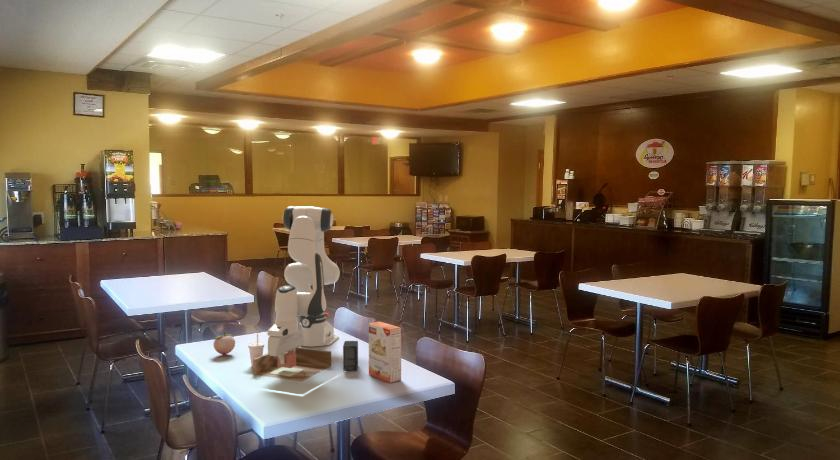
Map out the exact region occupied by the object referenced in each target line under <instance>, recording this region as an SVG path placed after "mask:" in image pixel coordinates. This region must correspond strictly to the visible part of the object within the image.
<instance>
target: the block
mask: <svg viewBox="0 0 840 460" xmlns="http://www.w3.org/2000/svg"><path fill="white" fill-rule="evenodd" d="M277 357H278V356H277ZM284 358H285V359H286V363H285V364H280V359H279V357H278V367H285V368H292V367H294V366H296V353H291V352H286V353H285V355H284Z"/></svg>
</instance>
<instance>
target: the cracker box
mask: <svg viewBox="0 0 840 460" xmlns="http://www.w3.org/2000/svg"><path fill="white" fill-rule="evenodd" d="M369 375H370V376H372V377H374V378H377V379H378V380H381V381H384V382H386V383H388V384H391V383H392V382H393V383H396V382H400V381H402V327H400V326H396V325H393V324H391V323H390V324H389V323H387V322H383V321H374V322H370V323H368V376H369Z"/></svg>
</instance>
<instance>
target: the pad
mask: <svg viewBox="0 0 840 460" xmlns="http://www.w3.org/2000/svg"><path fill="white" fill-rule="evenodd" d="M303 370H305V369H300V368H293V367H292V368H285V367H281V368H279V369H277V370H274V371H272V372H270V373H269V374H275V375H282V376H289V377H291V376H293V375H295V374H297V373H299V372H301V371H303Z"/></svg>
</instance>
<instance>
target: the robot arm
mask: <svg viewBox="0 0 840 460" xmlns="http://www.w3.org/2000/svg"><path fill="white" fill-rule="evenodd" d="M282 223H283V226H284V228H286V229H287V230H289V235H288V242H287V253H288V254H289V257H290V258H291V259H292V260H293V261H295V262H292V263H288V264H287V266H285V268H284V273H283V275H284V279H285V281H286V283H287V284H289V285H282V286H280V287H278V288H277V289H276V293H275V300H274V301H275V302H274V303H275V305H274V310H275V320H274V322H275V323H274V324H273V325H272V326H271V327H270V328H268V330H267V332H266V334H267V336H268V337H267V353H268V354H269V355H270V356H275V357H276V356H278V357H279V359H280V364H285V363H286V359H285V358H284V355H285V353H286V352H288V351H290V352H291V353H295V351H296V348H298V347H300V348H301V347H321V346H330V345H332V344H334V342H336V341H337V340H339V335H337V334H335V333H334V332H335V331H334V329H335V328H334V326H332V324H331V323H330V322H328V321H327V318H328V317H329V312H326V311H327V310H326V309H327V299H326V292H325V286H327V285H333V284H335V283H336V282H337V281H339V278H340V274H341V271H340V268H339V267H338V265H337V263H335V262H333V261H332V260H331V259H330V258H329V257H328V255H327V253H326V250H325V249H326V248H325V232H328V231H329V230H331V229H332V226H333V224H334V214H333V211H332V210H331V209H330V208H327V207H319V206H311V205H309V206H307V205H306V206H303V205H302V206H294V205H289V206H287V207H285V209H284V211H283V214H282ZM311 286H312V288H311ZM298 316H299V317H298Z"/></svg>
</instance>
